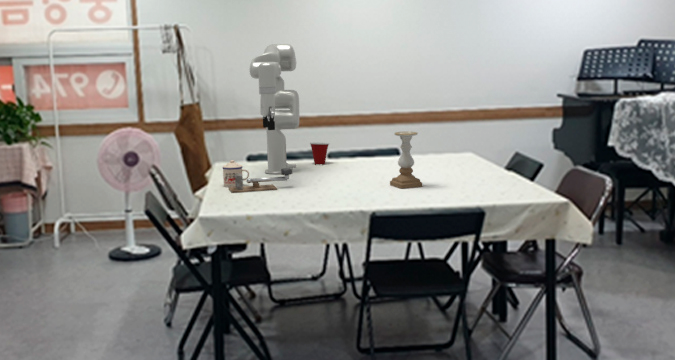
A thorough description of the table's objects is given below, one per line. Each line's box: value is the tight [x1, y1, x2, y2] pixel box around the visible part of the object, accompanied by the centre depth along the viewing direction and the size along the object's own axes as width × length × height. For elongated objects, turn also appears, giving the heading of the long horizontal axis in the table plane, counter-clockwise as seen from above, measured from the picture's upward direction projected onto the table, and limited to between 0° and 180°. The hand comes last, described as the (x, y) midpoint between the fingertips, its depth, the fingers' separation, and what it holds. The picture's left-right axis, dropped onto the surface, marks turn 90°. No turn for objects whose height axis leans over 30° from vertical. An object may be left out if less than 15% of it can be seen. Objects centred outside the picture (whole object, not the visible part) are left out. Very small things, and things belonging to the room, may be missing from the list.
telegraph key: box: [228, 174, 278, 194], centre depth 299 cm, size 20×10×7 cm, turn 107°
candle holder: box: [389, 131, 423, 190], centre depth 300 cm, size 11×11×24 cm
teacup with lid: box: [222, 159, 250, 188], centre depth 310 cm, size 12×9×12 cm
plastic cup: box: [309, 142, 330, 165], centre depth 372 cm, size 11×11×12 cm
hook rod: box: [246, 168, 293, 184], centre depth 301 cm, size 21×5×5 cm, turn 107°
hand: (268, 128), depth 308 cm, fingers open, 9 cm apart
